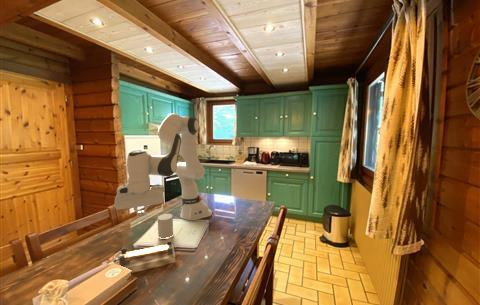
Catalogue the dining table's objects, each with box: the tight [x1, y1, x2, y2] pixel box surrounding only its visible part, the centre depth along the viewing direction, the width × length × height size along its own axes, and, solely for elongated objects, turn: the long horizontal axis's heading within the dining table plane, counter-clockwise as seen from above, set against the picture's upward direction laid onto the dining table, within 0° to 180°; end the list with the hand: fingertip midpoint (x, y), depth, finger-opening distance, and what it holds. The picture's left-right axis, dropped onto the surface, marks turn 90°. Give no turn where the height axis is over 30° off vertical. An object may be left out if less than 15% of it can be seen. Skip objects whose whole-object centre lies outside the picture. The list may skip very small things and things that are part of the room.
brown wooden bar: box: [120, 244, 171, 260], centre depth 93 cm, size 22×4×2 cm, turn 113°
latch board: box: [117, 239, 176, 274], centre depth 93 cm, size 24×12×7 cm, turn 113°
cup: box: [157, 213, 174, 238], centre depth 115 cm, size 8×8×12 cm
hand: (141, 215), depth 91 cm, fingers closed
